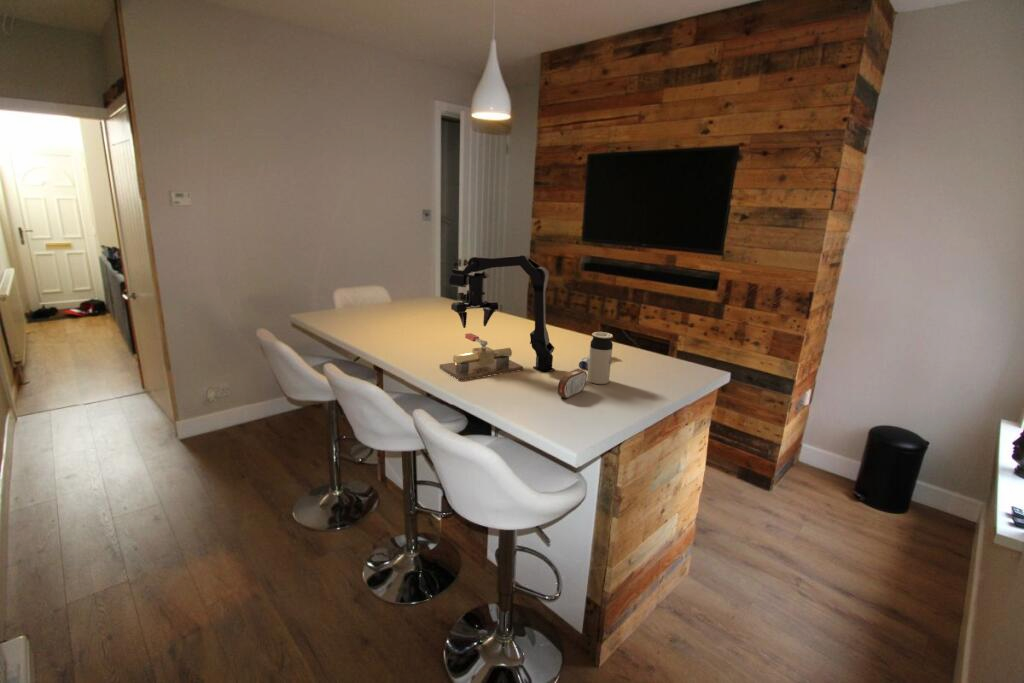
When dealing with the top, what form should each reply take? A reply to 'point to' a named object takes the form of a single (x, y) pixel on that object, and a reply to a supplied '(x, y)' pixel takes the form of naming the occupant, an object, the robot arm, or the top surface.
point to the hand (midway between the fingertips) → (474, 327)
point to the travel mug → (600, 358)
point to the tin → (572, 383)
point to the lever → (475, 338)
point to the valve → (481, 363)
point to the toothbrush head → (584, 363)
